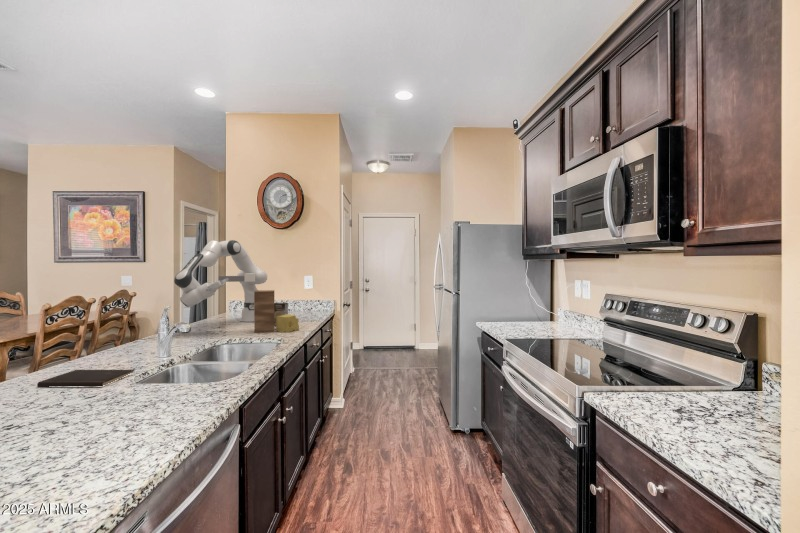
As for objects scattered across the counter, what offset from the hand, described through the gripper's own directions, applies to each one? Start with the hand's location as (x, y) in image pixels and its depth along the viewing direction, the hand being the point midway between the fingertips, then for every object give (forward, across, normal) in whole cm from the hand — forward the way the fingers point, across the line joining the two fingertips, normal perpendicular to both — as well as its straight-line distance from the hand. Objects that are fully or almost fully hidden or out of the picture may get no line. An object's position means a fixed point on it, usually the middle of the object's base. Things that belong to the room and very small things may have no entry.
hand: (229, 278), depth 239 cm
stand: (+1, 0, +40) cm, 40 cm away
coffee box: (+10, +18, +46) cm, 50 cm away
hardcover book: (-51, -91, +11) cm, 105 cm away
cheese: (+13, -4, +48) cm, 50 cm away
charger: (+3, 0, +4) cm, 5 cm away
